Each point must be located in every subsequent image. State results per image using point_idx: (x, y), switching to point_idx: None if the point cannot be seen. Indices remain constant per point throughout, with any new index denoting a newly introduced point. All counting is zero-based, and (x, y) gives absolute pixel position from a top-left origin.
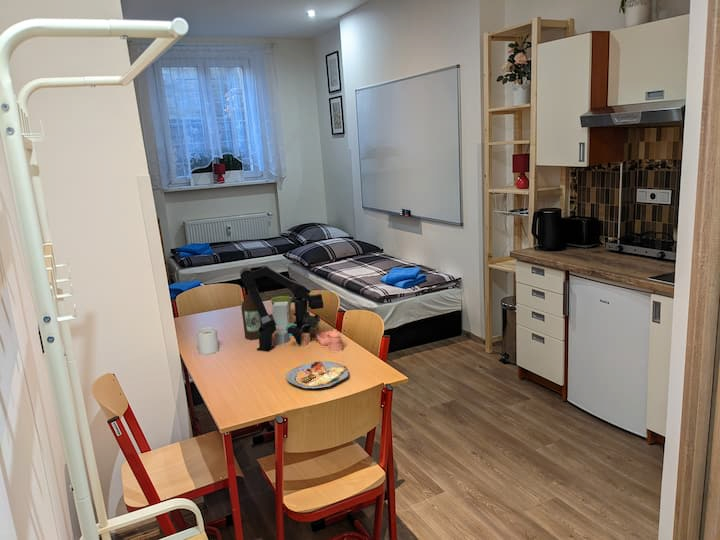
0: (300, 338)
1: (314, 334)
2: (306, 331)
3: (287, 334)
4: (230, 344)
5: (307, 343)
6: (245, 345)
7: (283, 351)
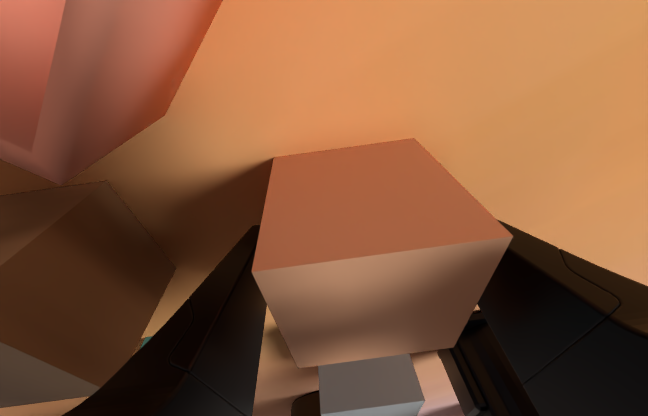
0: (566, 255)
1: (68, 231)
2: (228, 343)
3: (347, 380)
4: (434, 400)
5: (356, 156)
6: (439, 381)
7: (552, 244)
